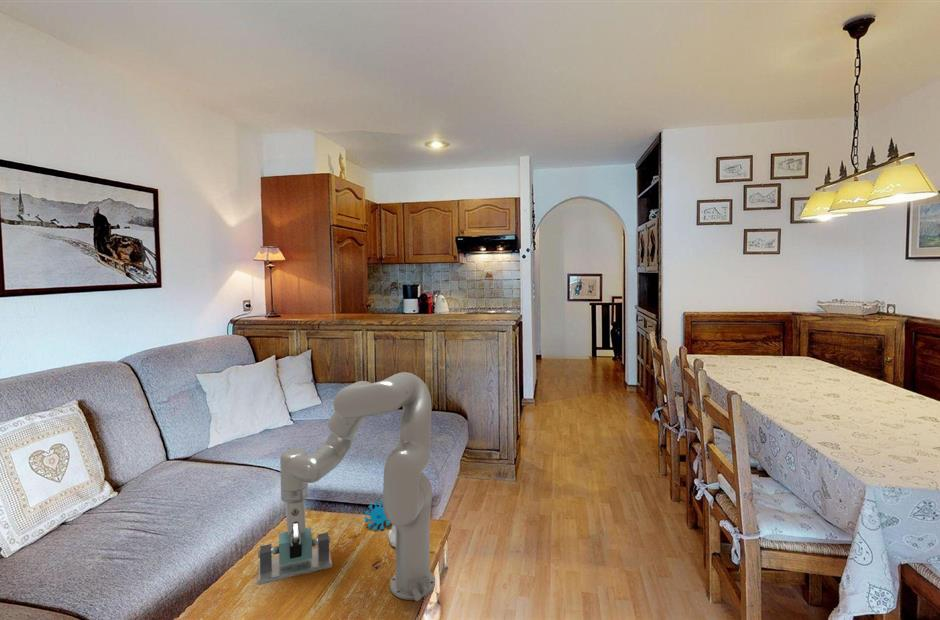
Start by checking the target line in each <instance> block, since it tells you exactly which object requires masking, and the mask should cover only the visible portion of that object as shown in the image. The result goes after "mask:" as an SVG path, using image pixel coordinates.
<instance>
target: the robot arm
mask: <svg viewBox="0 0 940 620" xmlns="http://www.w3.org/2000/svg"><path fill="white" fill-rule="evenodd" d="M401 407H402V412H401V415H400V417H401V418H400V420H399V421H400V422H399V440H398V444H397V446H396V447H395V448H394V449H393V450H391V452H390V453H389V454H388V456H387V458H386V460H385V463H384V468H383V482H382V483H383V486H382V487H383V488H382V500H383V505H382V507H383V510H384V514H385V516H386V518H387V520H388V522H390V525H394V526H396V547H395V573H394V575H393V576H392V577H391V579H390V582H389V588H390V592H391V593H392V594H393V595H394V596H395V597H396V598H399V599H401V600H402V599H403V600H405V601H406V600H408V601H409V600H410V601H411V600H412V601H414V600H415V601H416V602H418V601H420V600H421V599H422V598H424V597H426V596H428V595H429V594H431V592H433V590H434V589H435V586H436V578H435V575H434V574H433V572H431V570H430V566H431V564H430V563H431V561H430V560H431V559H430V557H431V556H430V552H431V551H430V550H431V549H430V548H431V547H430V545H431V543H430V541H431V540H430V539H431V537H430V535H431V533H430V532H431V510H432V509H431V508H432V501H433V486H432V482H431V481H430V479H429V477H428V476H427V475H426V474H425V473H423V472H424V471H425V469H426V467H427V466H428V464H429V463H430V460H431V445H432V444H431V443H432V441H431V439H432V408H433V407H432V397H431V393H430V390H429V388H428V385H426V383H425V382H424V381H423V379H421V377H420V376H417V375H415V374H414V373H411V372H405V371H404V372H398V373H395V374H393V375H391V376H389V377H387V378H385V379H383V380H380V381H377V382H372V383H371V382H369V381H366V380H359V381H356V382H354V383H352V384H349V385H346V386H345V387H343V388H341V389H340V390H338V391H337V393H336V395H335V397H334V399H333V408H334V411H333V413H332V415H331V416H330V418H329V419H328V422H327V426H328V429H329V431H330V432H331V433H330V435H329V436H328V438H327V439H326V441H325V442H324V444H323V445H322V446H321V447H319V448H318V449H316V450H315V451H314V452H312V453H310V454H308V452H307V451H306V450H305V449H302V448H292V449H290V448H289V449H288V450H285V451H284V452H282V454H281V456H280V459H279V461H280V463H279V464H280V466H279V468H280V501H282V502H284V503H285V520H286V521H285V522H286V523H285V524H286V529H287V531H288V535H289V536H291V545H290V559H293V558H297V557H301V556H302V542H301V534H302V533H303V534H304V533H305V532H306V528H307V527H306V499H307V498H308V496H309V484H315V483H317V482H318V481H320V480H321V479H323V478H324V477H326V476H327V475H328V474H330V473H331V472H332V471H333V470H334V469H336V468H337V466H339V464H341V462H342V460H343V459H344V457H345V456H346V455H347V453H348V452H349V450H350V448H351V447H352V444H353V442H354V439H355V435H356V433H357V432H358V431H359V429H360V427H361V426H362V425H363V423H364V421H365V420H366V418H369V417H374V416H379V415H380V416H381V415H385V414H391V413H392V412H395V411H398V409H400V408H401ZM298 530H299V533H298ZM292 532H294V534H292ZM298 535H299V538H298ZM292 536H294V539H293V538H292Z"/></svg>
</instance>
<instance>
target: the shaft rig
mask: <svg viewBox="0 0 940 620" xmlns="http://www.w3.org/2000/svg"><path fill="white" fill-rule="evenodd" d="M330 543H331V535H329V532H327V531H326V532H322V533H318V534H317V537H316V538H312V558H311V559H306V560H302V561H297V562H293V563H288V564H284V565H279V545H277V546H272V543H269V544H263V545H261V546H260V547H259V550H258V549H257V551H258V553H257V554H258V556H257V558H258V559H259V560H258V575H257V585H262V584H267V583H272V582H276V581H279V580H284V578H285V579H288V577H289V578H293V577H297V576H302V575H306V574H310V573H315V572H318V570H319V571H323V570H327V569H331V568H333V562H332V561H333V560H332V556H331V551H330ZM313 547H315V548H313ZM275 555H278V556H275ZM322 569H323V570H322ZM305 573H306V574H305ZM301 574H302V575H301ZM296 575H297V576H296ZM292 576H293V577H292ZM275 580H276V581H275Z"/></svg>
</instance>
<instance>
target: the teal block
mask: <svg viewBox="0 0 940 620" xmlns="http://www.w3.org/2000/svg"><path fill="white" fill-rule="evenodd" d="M305 528H306V532H305V533H304V534H303V533H302V534H301V542H302V556H301V557H297V558H293V559H290V545H291V536H289V535H288V530H287V531H284V532H283V531H282V532H279V533H278V546H279V554H278V556H279V565H284V564H288V563H293V562H297V561H302V560H306V559H311V558H312V549H313V547H312V539H313V536H312V534H313V533H312V528H311V526H309V527H305ZM298 533H299V530H298ZM292 534H294V532H292ZM292 538H293V539H294V536H292ZM298 538H299V535H298Z"/></svg>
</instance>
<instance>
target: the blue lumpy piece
mask: <svg viewBox="0 0 940 620" xmlns="http://www.w3.org/2000/svg"><path fill="white" fill-rule="evenodd" d="M378 505H379V500H378V501H377V500H375V501H374V508H373V504H369V505H368V509H369V510H370V511H371V512H370V511H369V510H365V512H364V514H365V516H366V517H365V518H364V521H365V523H367V527H368V528H369V529H370V528H372V529H373V530H374V531H375V532H377V530H378V527H379V525H380V527H379V529H380V530H381V531H383V530H385V527H384V524H385V525H386V527H388V526H390V525H391V523H390V522H389V521H388V520H387V518H386V516H385V514H384V510H383V499H382V500H381V501H380V505H379V506H378ZM367 516H369V517H370V518H369V517H367ZM368 522H369V523H368ZM370 522H372V523H370ZM385 522H386V523H385ZM375 524H376V525H375ZM373 525H374V526H373Z"/></svg>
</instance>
